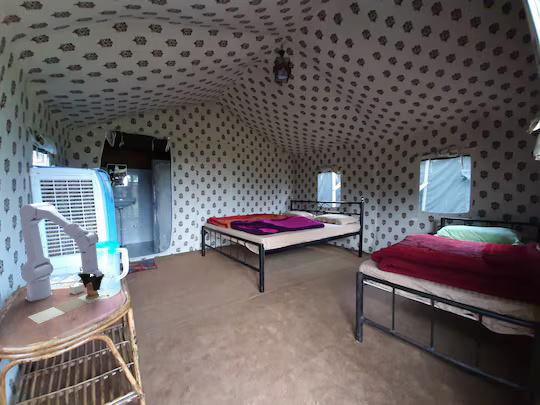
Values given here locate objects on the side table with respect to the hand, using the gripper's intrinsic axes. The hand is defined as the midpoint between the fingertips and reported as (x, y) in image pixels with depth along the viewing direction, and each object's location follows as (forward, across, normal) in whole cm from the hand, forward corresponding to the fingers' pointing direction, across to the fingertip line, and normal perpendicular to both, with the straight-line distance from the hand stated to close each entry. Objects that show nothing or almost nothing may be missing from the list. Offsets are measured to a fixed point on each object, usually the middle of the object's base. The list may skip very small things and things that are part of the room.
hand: (92, 288), depth 113 cm
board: (+4, 0, -8) cm, 9 cm away
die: (+4, -12, -1) cm, 13 cm away
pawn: (+4, 0, 0) cm, 4 cm away
